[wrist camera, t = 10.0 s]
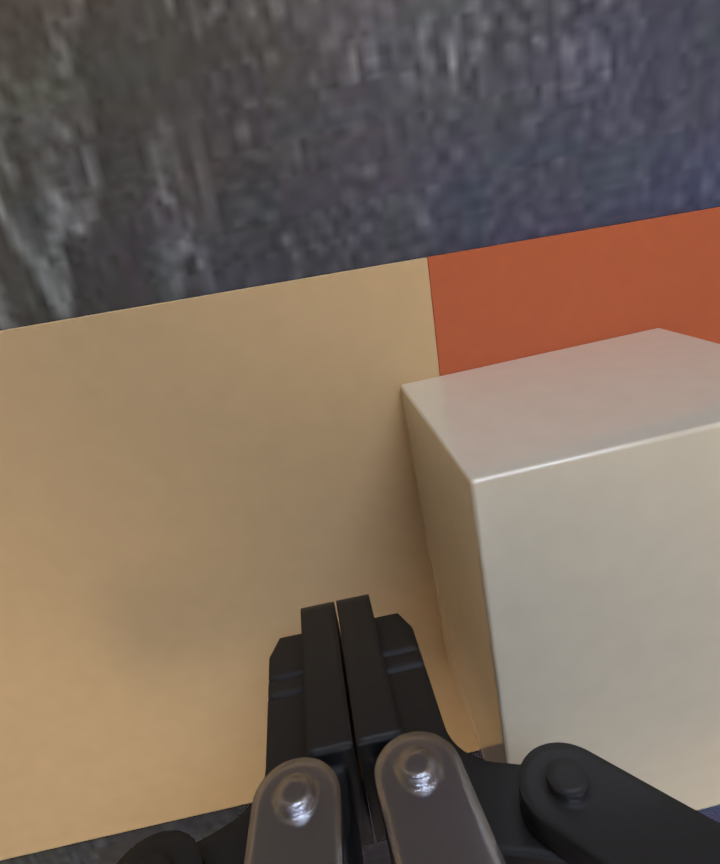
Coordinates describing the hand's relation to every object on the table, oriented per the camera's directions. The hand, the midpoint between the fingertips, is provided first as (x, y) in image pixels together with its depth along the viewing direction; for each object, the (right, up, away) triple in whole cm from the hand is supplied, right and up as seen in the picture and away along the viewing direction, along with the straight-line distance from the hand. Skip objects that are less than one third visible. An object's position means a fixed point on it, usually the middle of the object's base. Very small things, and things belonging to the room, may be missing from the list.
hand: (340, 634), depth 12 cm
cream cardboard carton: (+5, +2, +2) cm, 6 cm away
